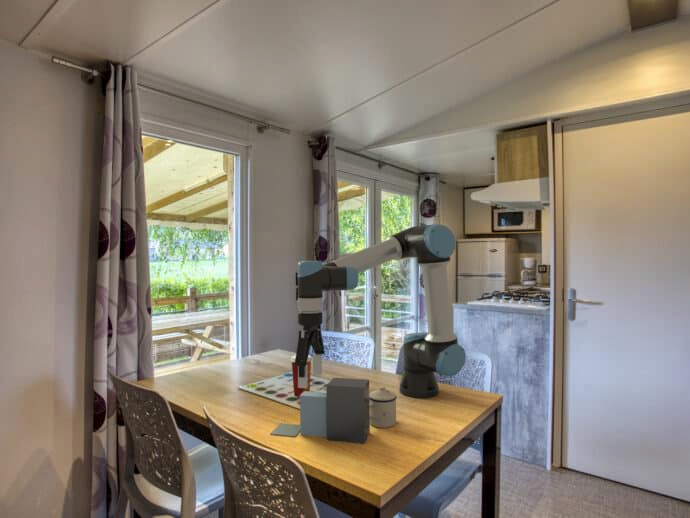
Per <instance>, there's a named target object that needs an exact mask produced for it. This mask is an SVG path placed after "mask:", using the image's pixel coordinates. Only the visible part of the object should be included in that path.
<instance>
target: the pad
mask: <svg viewBox="0 0 690 518" xmlns="http://www.w3.org/2000/svg"><path fill="white" fill-rule="evenodd" d="M300 433H301V432H300V424H293V423H282V422H280V423H279V424H278V425H277V426H276V427H275V428H274V429H273V430H272V431H271V432H270V436H271V435H272V436H281V437H291V438H292V437H293V438H296V437H297V435H298V434H300Z"/></svg>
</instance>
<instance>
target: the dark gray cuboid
mask: <svg viewBox="0 0 690 518" xmlns="http://www.w3.org/2000/svg"><path fill="white" fill-rule="evenodd" d="M323 391H324V392H326V393H327V437H326V440H327V441H331V442H332V441H333V442H343V443H352V444H360V445H364V444H366V442H367V441H368V438H369V435H370V432H371V430H370V429H371V428H370V427H371V426H370V425H371V424H370V411H369V393H370V379H364V378H363V379H361V378H350V377H349V378H345V377H332V379H331V380H330V381H329V382H328V383H327V384H326V386H325V387H324V388H323Z"/></svg>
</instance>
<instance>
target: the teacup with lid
mask: <svg viewBox="0 0 690 518" xmlns="http://www.w3.org/2000/svg"><path fill="white" fill-rule="evenodd" d="M369 411H370V425H371V426H372V427H376V428H381V429H383V428H384V429H386V428H391V427H394V426H395V425H396V424H397V394H396V393H395V392H394V391H391V390H388V389H387V388H386V387H385V386H384V385H380V386H379V388H378V389H376V390H372V391H370V392H369Z"/></svg>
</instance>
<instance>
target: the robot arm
mask: <svg viewBox="0 0 690 518" xmlns="http://www.w3.org/2000/svg"><path fill="white" fill-rule="evenodd" d="M456 247H457V241H456V236H455V234H454V233H453V230H451V229H450V228H449V227H448V226H446V225H444V224H434V223H433V224H427V225H416V226H415V225H414V226H411V227H409V228H407V229H403V230H401V231H399V232H397V233H395V234H394V233H393V235H392V234H391V235H390V236H387V238H386V239H385V240H384V241H382V242H379V243H376V244H374V245H371V246H369V247H366V248H364V249H361V250H358V251H356V252H353V253H350V254H347V255H345V256H342V257H340V258H337V259H335V260H332V261H330V262H327V263H324V264H323V261H321V260H302V261H301V260H300V262H298V265H297V266H298V267H297V300H296V304H297V310H298V311H299V312H298V313H297V324H298V325H299V326H303V328H302V330H299V331H298V339H297V340H298V341H297V346H296V353H295V355H296V358H295V366H298V388H308V365H306V364H307V359H308V355H310V351H311V350H310V349H311V348H312V350H313V354H312V375H313V376H322V375H323V373H322V372H323V366H322V365H323V359H322V358H323V357H322V355H325V346H324V340H323V339H324V338H323V335H322V324H324V323H323V319H324V318H323V317H324V316H323V314H324V312H322V311H323V310H324V302H323V301H324V300H323V299H324V296H323V292H332V291H333V292H336V291H345V292H347V291H351V290H352V291H353V290H355V289H357V287H358V285H359V274H361V273H363V272H365V271H368V270H370V269H373V268H375V267H378V266H381V265H383V264H385V263H388V262H391V261H396V262H397V261H399V260H403V259H406V258H416V261H417V265H418V266H419V267H421V270H422V278H423V289H424V300H425V301H424V302H425V311H426V312H425V313H426V324H427V332H424V331H423V332H410V333H407V334H405V335H404V336H403V343H402V345H403V374H402V376H401V380H400V383H399V393H400V394H401V395H403V396H407V397H409V398H410V397H411V398H416V399H417V398H418V399H425V398H433V397H436V396H437V395H439V391H440V390H439V389H440V388H439V387H440V386H439V384H438V380H437V378H436V375H435V373H436V374H438V375H440V376H445V377H453V376H456V375H457V374H459V373H460V372H461V371H462V370H463V369H462V368H464V366H465V363H466V359H467V358H466V357H467V356H466V353H467V352H466V351H465V350H466V349H464V348H463V346H462V345H460V344H459V341H458V335H457V334H455V333H454V331H453V324H452V312H451V302H450V301H451V300H450V291H449V290H450V289H449V279H448V278H449V277H448V270H447V269H448V268H447V266H448V265H449V264H450V262H451V256H452V255H453V254H454V252H455V250H456Z"/></svg>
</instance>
